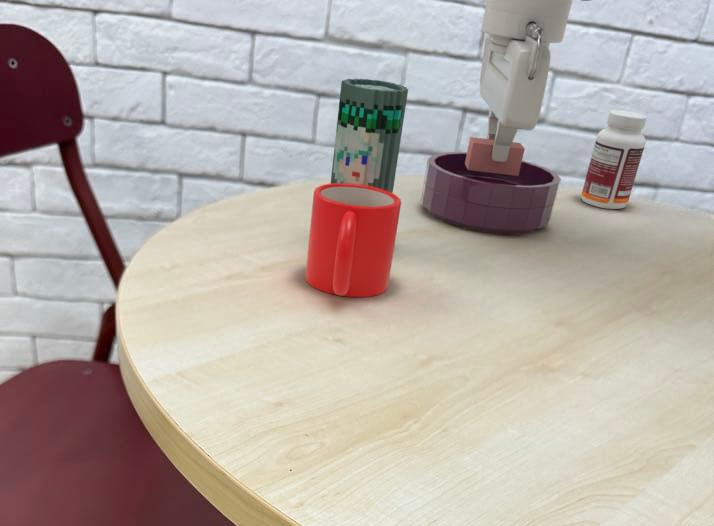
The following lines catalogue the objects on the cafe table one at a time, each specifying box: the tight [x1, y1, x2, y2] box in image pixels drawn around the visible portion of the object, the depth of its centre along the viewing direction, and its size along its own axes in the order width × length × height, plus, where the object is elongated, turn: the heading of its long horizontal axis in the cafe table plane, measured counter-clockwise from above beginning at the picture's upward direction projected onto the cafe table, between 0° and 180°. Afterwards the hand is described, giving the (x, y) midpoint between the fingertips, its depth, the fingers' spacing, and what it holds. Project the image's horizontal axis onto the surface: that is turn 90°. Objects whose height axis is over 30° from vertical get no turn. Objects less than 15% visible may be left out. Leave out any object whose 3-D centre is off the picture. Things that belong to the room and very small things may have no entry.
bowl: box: [420, 151, 562, 235], centre depth 102 cm, size 16×16×6 cm
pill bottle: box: [580, 109, 648, 210], centre depth 111 cm, size 6×6×11 cm
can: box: [330, 78, 409, 194], centre depth 85 cm, size 6×6×15 cm
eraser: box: [465, 136, 525, 176], centre depth 99 cm, size 6×3×3 cm, turn 88°
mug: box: [305, 183, 402, 298], centre depth 76 cm, size 8×12×8 cm, turn 174°
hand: (495, 155), depth 99 cm, fingers closed on eraser, 3 cm apart
